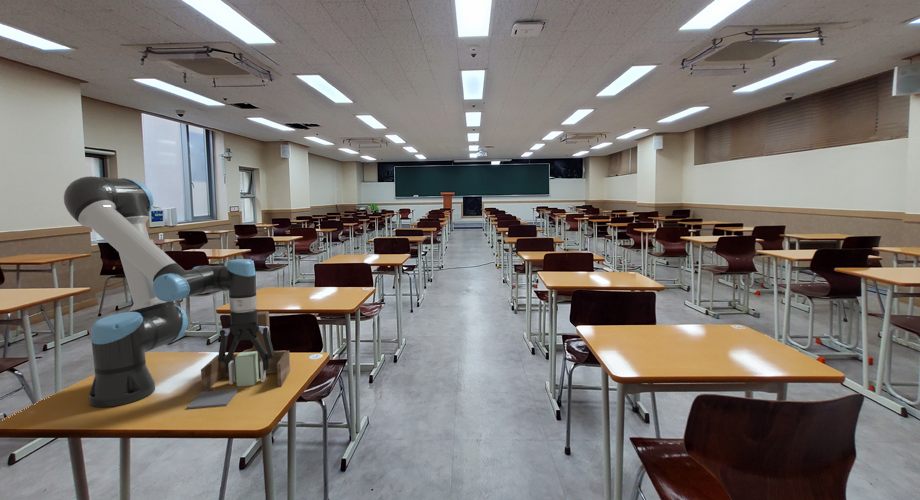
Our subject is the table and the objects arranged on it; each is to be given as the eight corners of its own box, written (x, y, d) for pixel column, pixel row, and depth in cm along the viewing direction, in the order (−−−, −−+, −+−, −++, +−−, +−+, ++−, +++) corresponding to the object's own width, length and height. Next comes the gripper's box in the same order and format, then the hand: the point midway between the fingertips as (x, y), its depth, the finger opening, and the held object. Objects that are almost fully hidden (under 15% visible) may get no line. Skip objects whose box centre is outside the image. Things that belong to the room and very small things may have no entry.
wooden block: (240, 367, 147) (237, 315, 146) (244, 362, 152) (241, 312, 150) (269, 364, 150) (266, 313, 148) (271, 360, 154) (268, 310, 152)
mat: (186, 408, 117) (186, 407, 117) (201, 393, 127) (201, 391, 126) (226, 405, 119) (226, 403, 118) (238, 390, 128) (238, 388, 128)
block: (236, 386, 131) (235, 357, 131) (242, 380, 136) (240, 352, 136) (254, 384, 132) (252, 356, 132) (258, 378, 137) (257, 351, 136)
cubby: (202, 392, 127) (200, 369, 126) (218, 376, 140) (217, 355, 139) (281, 386, 131) (280, 364, 130) (290, 370, 144) (289, 350, 143)
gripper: (201, 314, 127) (206, 389, 129) (277, 310, 130) (281, 383, 133) (211, 308, 134) (215, 379, 136) (282, 305, 138) (286, 374, 140)
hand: (248, 381), depth 134 cm, fingers open, 8 cm apart
